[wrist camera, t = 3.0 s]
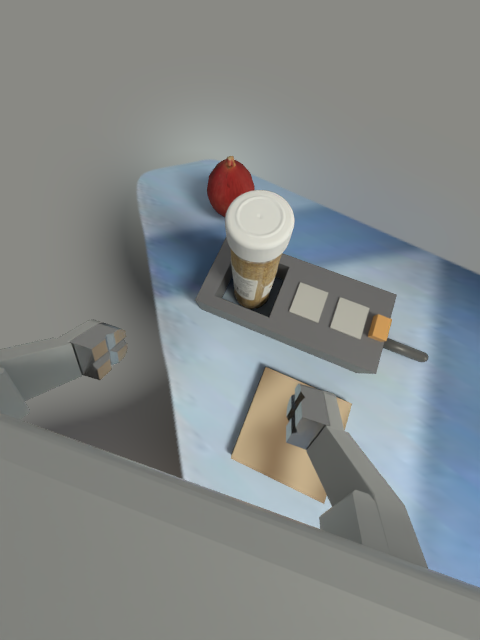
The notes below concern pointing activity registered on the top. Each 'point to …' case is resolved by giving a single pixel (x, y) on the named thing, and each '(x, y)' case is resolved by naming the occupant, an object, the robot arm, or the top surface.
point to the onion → (228, 184)
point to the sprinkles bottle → (257, 243)
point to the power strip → (314, 313)
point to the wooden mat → (278, 437)
